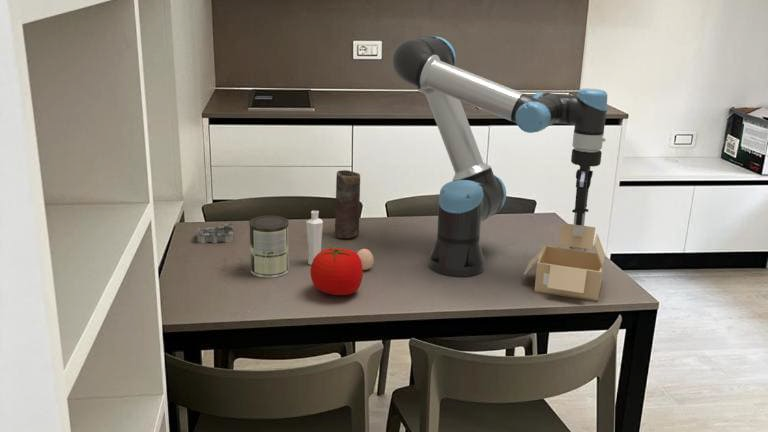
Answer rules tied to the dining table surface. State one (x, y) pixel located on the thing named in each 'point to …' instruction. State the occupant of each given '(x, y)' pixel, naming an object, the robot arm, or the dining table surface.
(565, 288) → the front flap
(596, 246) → the right flap
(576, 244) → the back flap
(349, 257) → the tomato
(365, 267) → the egg
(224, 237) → the egg carton
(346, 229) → the candle
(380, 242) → the dining table surface
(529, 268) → the left flap
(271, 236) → the coffee can
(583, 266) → the carton
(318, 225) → the perfume bottle
